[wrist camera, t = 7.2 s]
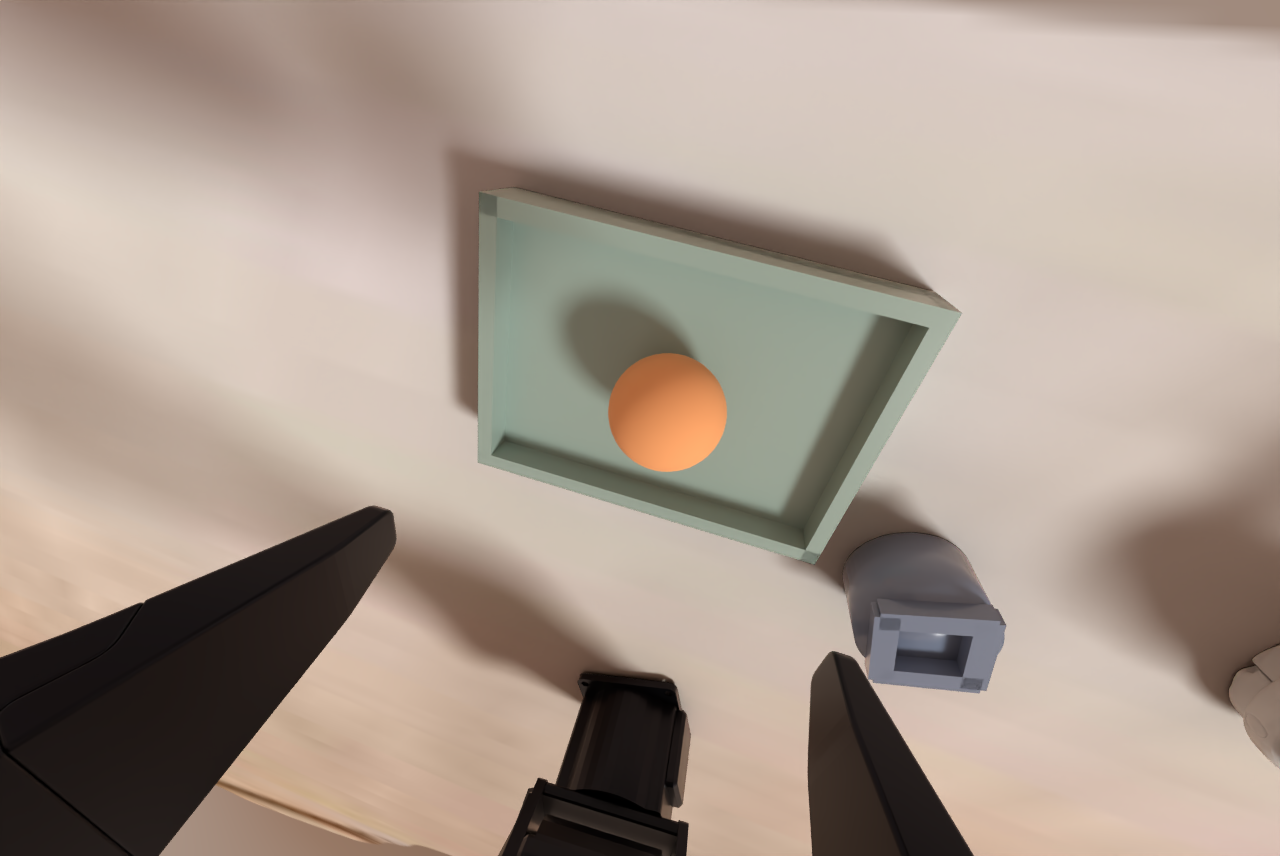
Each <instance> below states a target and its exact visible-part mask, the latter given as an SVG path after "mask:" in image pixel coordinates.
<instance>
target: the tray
mask: <svg viewBox="0 0 1280 856" xmlns="http://www.w3.org/2000/svg"><path fill="white" fill-rule="evenodd" d="M961 314H962V313H961V312H960V311H959V310H958V309H956V308H955V307H954V306H952V305H951V304H950V303H949V302H947V301H946V300H945V299H944V298H942V297H941V296H940V295H938V294H937V293H936V292H934V291H930V290H926V289H922V288H918V287H914V286H910V285H906V284H902V283H898V282H894V281H890V280H886V279H882V278H878V277H874V276H870V275H866V274H861V273H857V272H853V271H849V270H845V269H841V268H837V267H833V266H829V265H825V264H821V263H817V262H813V261H809V260H805V259H801V258H797V257H793V256H789V255H785V254H781V253H777V252H773V251H769V250H765V249H761V248H757V247H753V246H749V245H745V244H741V243H737V242H733V241H729V240H725V239H721V238H717V237H713V236H709V235H705V234H701V233H697V232H692V231H688V230H684V229H680V228H676V227H672V226H668V225H664V224H660V223H656V222H652V221H648V220H644V219H640V218H636V217H632V216H628V215H624V214H620V213H616V212H612V211H608V210H604V209H600V208H596V207H592V206H588V205H584V204H580V203H576V202H572V201H568V200H564V199H560V198H556V197H552V196H548V195H544V194H540V193H536V192H532V191H528V190H523V189H519V188H515V187H511V188H504V189H496V190H489V191H482V192H479V310H478V463H481V464H484V465H488V466H491V467H494V468H497V469H501V470H504V471H507V472H511V473H514V474H517V475H521V476H524V477H527V478H530V479H534V480H537V481H540V482H544V483H547V484H550V485H553V486H557V487H560V488H563V489H567V490H570V491H573V492H577V493H580V494H583V495H586V496H590V497H593V498H596V499H600V500H603V501H606V502H610V503H613V504H616V505H619V506H623V507H626V508H629V509H633V510H636V511H639V512H642V513H646V514H649V515H652V516H656V517H659V518H662V519H666V520H669V521H672V522H675V523H679V524H682V525H685V526H689V527H692V528H695V529H698V530H702V531H705V532H708V533H712V534H715V535H718V536H722V537H725V538H728V539H731V540H735V541H738V542H741V543H745V544H748V545H751V546H754V547H758V548H761V549H764V550H768V551H771V552H774V553H778V554H781V555H784V556H787V557H791V558H794V559H797V560H801V561H804V562H807V563H811V564H814V565H815V563H816V561H817V560H818V558H819V556H820V555H821V553H822V551H823V549H824V548H825V546H826V544H827V543H828V541H829V539H830V537H831V536H832V534H833V532H834V531H835V529H836V527H837V526H838V524H839V522H840V520H841V519H842V517H843V515H844V514H845V512H846V510H847V509H848V507H849V505H850V503H851V502H852V500H853V498H854V497H855V495H856V493H857V491H858V490H859V488H860V486H861V485H862V483H863V481H864V480H865V478H866V476H867V474H868V473H869V471H870V469H871V468H872V466H873V464H874V462H875V461H876V459H877V457H878V456H879V454H880V452H881V451H882V449H883V447H884V445H885V444H886V442H887V440H888V439H889V437H890V435H891V434H892V432H893V430H894V428H895V427H896V425H897V423H898V422H899V420H900V418H901V416H902V415H903V413H904V411H905V410H906V408H907V406H908V405H909V403H910V401H911V399H912V398H913V396H914V394H915V393H916V391H917V389H918V387H919V386H920V384H921V382H922V381H923V379H924V377H925V376H926V374H927V372H928V370H929V369H930V367H931V365H932V364H933V362H934V360H935V359H936V357H937V355H938V353H939V352H940V350H941V348H942V347H943V345H944V343H945V341H946V340H947V338H948V336H949V335H950V333H951V331H952V330H953V328H954V326H955V324H956V323H957V321H958V319H959V318H960V316H961ZM661 353H674V354H680V355H685V356H687V357H690V358H692V359H694V360H696V361H698V362H700V363H701V364H703V365H704V366H705V367H706V368H707V369H709V370H710V371H711V373H712V374H713V375H714V376H715V377H716V379H717V380H718V382H719V383H720V386H721V388H722V390H723V393H724V396H725V399H726V405H727V420H726V425H725V429H724V432H723V435H722V437H721V439H720V441H719V443H718V444H717V446H716V447H715V449H714V450H713V451H712V452H711V453H710V454H709V455H708V456H707V457H706V458H705V459H704V460H702V461H701V462H699V463H698V464H696V465H694V466H692V467H690V468H687V469H684V470H680V471H672V472H661V471H655V470H651V469H648V468H645V467H643V466H641V465H639V464H637V463H636V462H634V461H633V460H631V459H630V458H629V457H628V456H627V455H626V454H625V453H624V452H623V451H622V450H621V449H620V447H619V446H618V444H617V443H616V441H615V439H614V437H613V435H612V432H611V429H610V425H609V418H608V407H609V400H610V396H611V393H612V390H613V388H614V386H615V384H616V382H617V381H618V379H619V378H620V376H621V375H622V374H623V373H624V372H625V371H626V370H627V369H628V368H629V367H630V366H631V365H633V364H634V363H636V362H637V361H639V360H641V359H643V358H645V357H648V356H651V355H655V354H661Z"/></svg>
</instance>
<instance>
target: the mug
mask: <svg viewBox="0 0 1280 856" xmlns="http://www.w3.org/2000/svg"><path fill="white" fill-rule="evenodd" d="M1252 661H1253V662H1254V663H1255V664H1256V665H1255V666H1252V667H1248V668H1244V669H1241V670H1239V671H1238V672H1237V673H1236V675H1235V677H1234V678H1233V682H1232V684H1231V686H1230V688H1229V698H1230V701H1231V703H1232V704H1233V706H1234V707H1235V709H1236V710H1237V711H1238V713H1239V714H1240V715H1241V716H1242V717H1243V721H1244V726H1245V729H1246V732H1247V734H1248V736H1249V737H1250V739H1251V740H1252V742H1253V743H1254V744H1255V745H1256V746H1257V748H1258V749H1259V750H1260V751H1261V752H1262V753H1263V754H1264V755H1265V756H1266V757H1267V758H1268V759H1269V760H1270V761H1271V762H1272V763H1273V764H1274V765H1275V766H1277V767H1278V768H1279V769H1280V645H1278V646H1275V647H1273V648H1270V649H1268V650H1265V651H1263V652H1261V653H1260V654H1258V655H1256V656H1255V657H1254V658H1253V660H1252Z"/></svg>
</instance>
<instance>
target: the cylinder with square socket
mask: <svg viewBox="0 0 1280 856" xmlns="http://www.w3.org/2000/svg"><path fill="white" fill-rule="evenodd" d="M843 583H844V588H845V593H846V598H847V603H848V608H849V613H850V618H851V623H852V629H853V634H854V639H855V643H856V646H857V648H858V650H859V651H860V652H861V654H862V655H863V656H864V657H865V667H866V672H867V677H868V679H871V680H873V683H881V684H891V685H901V686H911V687H921V688H931V689H941V690H951V691H961V692H971V693H980V690H983V691H986V690H987V687H988V684H989V681H990V677H991V674H992V671H993V668H994V664H995V661H996V658H997V655H998V653H999V652H1000V651H1001V649H1002V646H1003V644H1004V632H1005V628H1006V624H1005V622H1004V620H1003V618H1002V616H1001V614H1000V612H999V610H998V609H994V607H993V605H991V603H990V601H989V599H988V597H987V595H986V593H985V591H984V589H983V587H982V585H981V583H980V582H979V580H978V578H977V576H976V574H975V572H974V570H973V568H972V566H971V564H970V562H969V560H968V558H967V557H966V555H965V554H964V553H963V552H962V551H961V550H960V549H959V548H958V547H956V546H955V545H954V544H952V543H950V542H948V541H946V540H944V539H942V538H939V537H936V536H932V535H928V534H922V533H895V534H890V535H885V536H881V537H878V538H875V539H873V540H871V541H868V542H867V543H865V544H863V545H862V546H860V547H859V548H857V549H856V550H855V551H854V552H853V553H852V554H851V555H850V556H849V558H848V559H847V561H846V563H845V565H844V568H843Z"/></svg>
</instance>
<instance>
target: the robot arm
mask: <svg viewBox="0 0 1280 856" xmlns="http://www.w3.org/2000/svg"><path fill="white" fill-rule="evenodd" d="M395 544H396V530H395V522H394V516H393V513H392V512H391V511H390V510H388V509H384V508H381V507H378V506H368V507H366V508H363V509H361V510H359V511H356V512H354V513H351V514H349V515H347V516H344V517H342V518H340V519H337V520H335V521H332V522H330V523H328V524H325V525H323V526H321V527H318V528H316V529H313V530H311V531H309V532H306V533H304V534H302V535H299V536H297V537H294V538H292V539H290V540H287V541H285V542H283V543H280V544H278V545H275V546H273V547H271V548H268V549H266V550H264V551H261V552H259V553H256V554H254V555H252V556H249V557H247V558H245V559H242V560H240V561H237V562H235V563H233V564H230V565H228V566H226V567H223V568H221V569H218V570H216V571H214V572H211V573H209V574H207V575H204V576H202V577H199V578H197V579H195V580H192V581H190V582H188V583H185V584H183V585H180V586H178V587H176V588H173V589H171V590H169V591H166V592H164V593H161V594H159V595H157V596H154V597H152V598H150V599H147V600H146V601H145V602H144V603H137V604H135V605H133V606H130V607H128V608H126V609H123V610H121V611H118V612H116V613H114V614H111V615H109V616H106V617H104V618H101V619H99V620H96V621H94V622H92V623H89V624H87V625H84V626H82V627H79V628H77V629H74V630H72V631H69V632H67V633H64V634H62V635H59V636H56V637H54V638H51V639H48V640H46V641H43V642H41V643H38V644H35V645H33V646H30V647H27V648H25V649H22V650H19V651H17V652H14V653H11V654H9V655H6V656H3V657H0V856H159V855H160V853H161V852H162V851H163V850H164V848H165V847H166V846H167V845H168V843H169V842H170V841H171V840H172V838H173V837H174V836H175V835H176V833H177V832H178V831H179V830H180V828H181V827H182V826H183V825H184V823H185V822H186V821H187V820H188V818H189V817H190V816H191V815H192V813H193V812H194V811H195V810H196V808H197V807H198V806H199V805H200V803H201V802H202V801H203V800H204V798H205V797H206V796H207V795H208V793H209V792H210V791H211V789H212V788H213V787H214V786H215V784H216V783H217V782H218V781H219V779H220V778H221V777H222V776H223V774H224V773H225V772H226V771H227V769H228V768H229V767H230V766H231V764H232V763H233V762H234V761H235V759H236V758H237V757H238V756H239V754H240V753H241V752H242V751H243V749H244V748H245V747H246V746H247V744H248V743H249V742H250V741H251V739H252V738H253V737H254V736H255V734H256V733H257V732H258V731H259V729H260V728H261V727H262V726H263V724H264V723H265V722H266V721H267V719H268V718H269V717H270V716H271V714H272V713H273V712H274V710H275V709H276V708H277V707H278V705H279V704H280V703H281V702H282V700H283V699H284V698H285V697H286V695H287V694H288V693H289V692H290V690H291V689H292V688H293V687H294V685H295V684H296V683H297V682H298V680H299V679H300V678H301V677H302V675H303V674H304V673H305V672H306V670H307V669H308V668H309V667H310V665H311V664H312V663H313V662H314V660H315V659H316V658H317V657H318V655H319V654H320V653H321V652H322V650H323V649H324V648H325V647H326V645H327V644H328V643H329V642H330V640H331V639H332V638H333V636H334V635H335V634H336V633H337V631H338V630H339V629H340V628H341V626H342V625H343V624H344V623H345V621H346V620H347V619H348V617H349V616H350V615H351V613H352V612H353V610H354V609H355V607H356V606H357V604H358V603H359V601H360V600H361V598H362V597H363V595H364V594H365V592H366V590H367V589H368V587H369V586H370V584H371V583H372V581H373V580H374V578H375V577H376V575H377V573H378V572H379V570H380V569H381V567H382V566H383V564H384V563H385V561H386V560H387V558H388V557H389V555H390V553H391V552H392V550H393V549H394V546H395ZM578 685H579V687H580V690H581V693H582V695H583V700H582V704H581V707H580V710H579V713H578V716H577V719H576V722H575V725H574V728H573V731H572V734H571V737H570V741H569V744H568V747H567V750H566V753H565V756H564V759H563V762H562V765H561V768H560V771H559V775H558V778H557V781H556V784H552V783H549V782H548V780H545V779H542V778H538V779H537V782H536V784H535V786H534V788H529V789H528V791H527V794H526V797H525V799H524V802H523V805H522V808H521V810H520V813H519V816H518V818H517V820H516V823H515V825H514V827H513V829H512V831H511V833H510V835H509V836H508V838H507V840H506V842H505V844H504V846H503V848H502V849H501V851H500V853H499V855H498V856H686V852H687V839H688V825H689V823H687V822H683V821H680V820H679V822H676V821H673V820H671V815H672V807H677V808H679V807H680V806H681V805H682V804H683V797H684V789H685V780H686V772H687V764H688V755H689V747H690V738H691V734H690V729H689V724H688V719H687V714H686V713H685V712H684V710H682V709H681V704H680V699H679V695H678V690H677V687H676V686H675V685H674V684H672V683H667V682H658V681H649V680H640V679H631V678H622V677H613V676H604V675H596V674H587V673H582V674H581V675H580V676H579V679H578ZM808 791H809V807H810V823H811V839H812V856H974V855H973V853H972V852H971V850H970V848H969V847H968V845H967V843H966V842H965V840H964V838H963V837H962V835H961V833H960V832H959V830H958V829H957V827H956V825H955V824H954V822H953V820H952V819H951V817H950V815H949V814H948V812H947V810H946V809H945V807H944V805H943V804H942V802H941V800H940V799H939V797H938V795H937V794H936V792H935V790H934V789H933V787H932V785H931V784H930V782H929V780H928V779H927V777H926V775H925V774H924V772H923V771H922V769H921V767H920V766H919V764H918V762H917V761H916V759H915V757H914V756H913V754H912V752H911V751H910V749H909V747H908V746H907V744H906V742H905V741H904V739H903V737H902V736H901V734H900V732H899V731H898V729H897V727H896V726H895V724H894V722H893V721H892V719H891V718H890V716H889V714H888V713H887V711H886V709H885V708H884V706H883V704H882V703H881V701H880V699H879V698H878V696H877V694H876V693H875V691H874V689H873V688H872V686H871V684H870V683H869V681H868V679H867V678H866V676H865V674H864V673H863V671H862V669H861V668H860V666H859V664H858V663H857V661H856V660H855V659H854V658H852V657H851V656H848V655H845V654H842V653H839V652H835V651H832V652H829V653H828V655H827V656H826V657H825V659H824V660H823V661H822V663H821V664H820V666H819V667H818V668H817V670H816V671H815V673H814V675H813V677H812V681H811V695H810V719H809V743H808Z"/></svg>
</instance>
